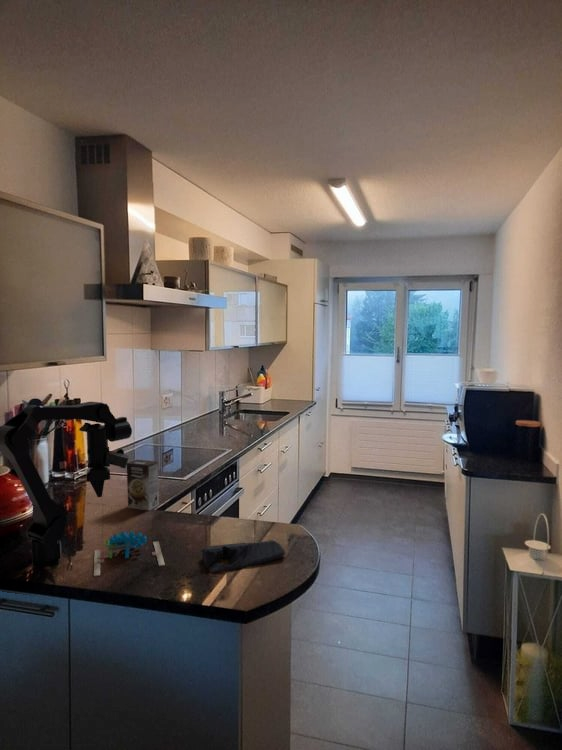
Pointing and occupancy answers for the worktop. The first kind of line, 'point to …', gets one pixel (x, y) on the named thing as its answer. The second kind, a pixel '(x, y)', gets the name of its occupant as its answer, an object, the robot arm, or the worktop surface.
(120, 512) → the worktop surface
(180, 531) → the worktop surface
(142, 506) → the coffee box
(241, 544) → the dark grey stepped bar
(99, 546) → the worktop surface
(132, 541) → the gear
